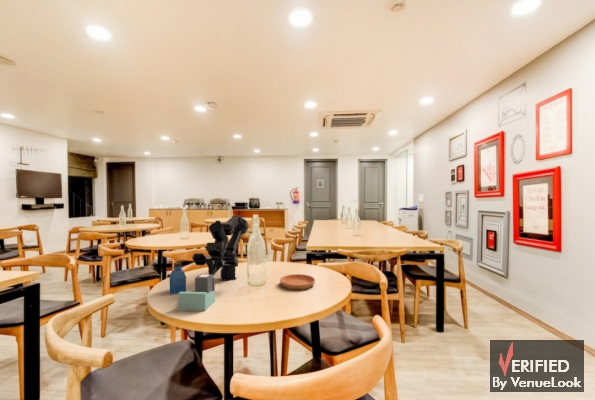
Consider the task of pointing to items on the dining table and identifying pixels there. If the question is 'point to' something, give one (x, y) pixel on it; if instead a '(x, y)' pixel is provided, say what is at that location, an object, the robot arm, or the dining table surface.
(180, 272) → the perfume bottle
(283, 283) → the saucer
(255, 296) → the dining table surface
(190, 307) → the socket
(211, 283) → the grey block
